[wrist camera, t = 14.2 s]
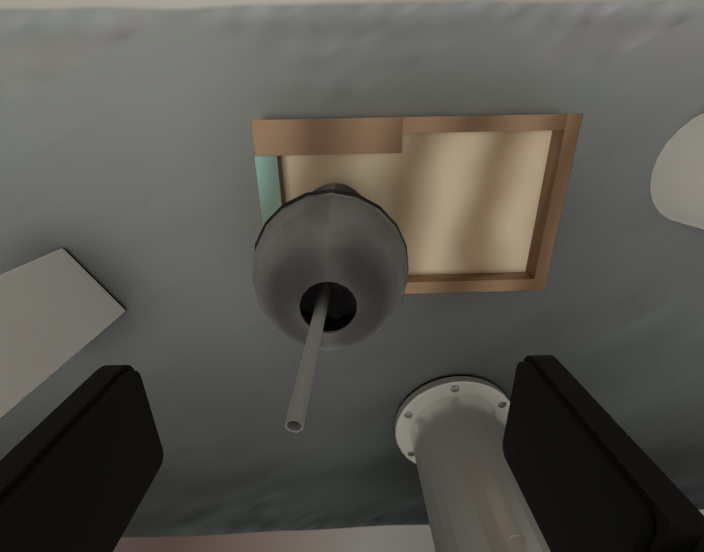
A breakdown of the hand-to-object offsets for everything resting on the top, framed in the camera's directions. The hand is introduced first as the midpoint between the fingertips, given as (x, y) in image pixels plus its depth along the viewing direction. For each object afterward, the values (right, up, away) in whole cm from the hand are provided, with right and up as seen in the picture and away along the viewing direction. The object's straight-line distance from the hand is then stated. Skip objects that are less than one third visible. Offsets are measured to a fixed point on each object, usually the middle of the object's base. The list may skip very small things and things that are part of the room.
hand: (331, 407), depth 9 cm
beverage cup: (-1, +8, +18) cm, 20 cm away
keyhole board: (+5, +9, +20) cm, 22 cm away
